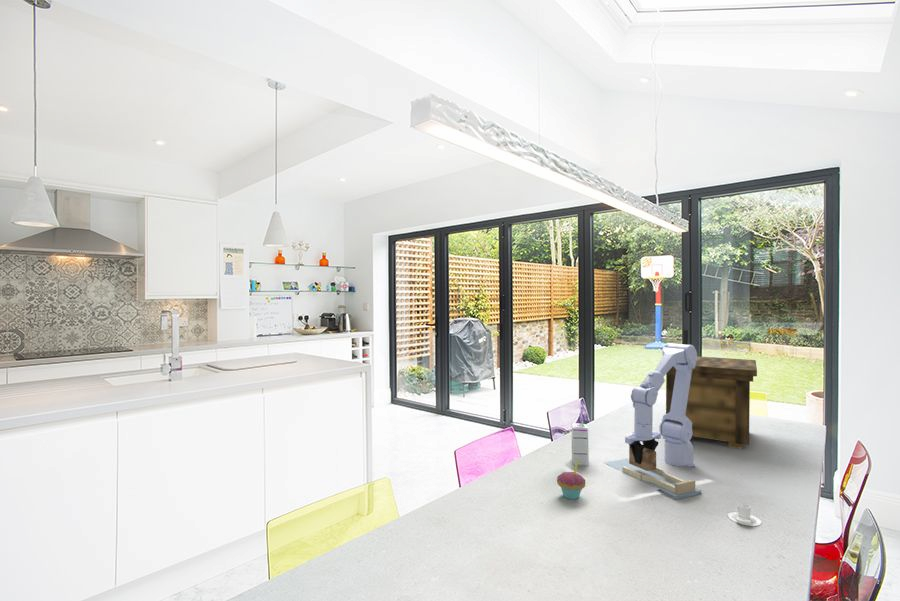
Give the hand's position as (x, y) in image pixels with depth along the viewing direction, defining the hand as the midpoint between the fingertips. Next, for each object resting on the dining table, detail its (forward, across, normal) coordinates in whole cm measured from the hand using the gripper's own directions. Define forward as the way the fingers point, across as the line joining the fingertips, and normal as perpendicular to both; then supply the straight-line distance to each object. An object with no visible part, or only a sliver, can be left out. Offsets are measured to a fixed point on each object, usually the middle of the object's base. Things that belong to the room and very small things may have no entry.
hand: (643, 462), depth 160 cm
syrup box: (+5, +13, -17) cm, 22 cm away
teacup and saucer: (+6, +1, +33) cm, 33 cm away
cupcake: (+5, +33, +3) cm, 33 cm away
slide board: (+5, 0, +2) cm, 5 cm away
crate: (+5, -63, -23) cm, 67 cm away
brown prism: (+2, 0, 0) cm, 2 cm away
